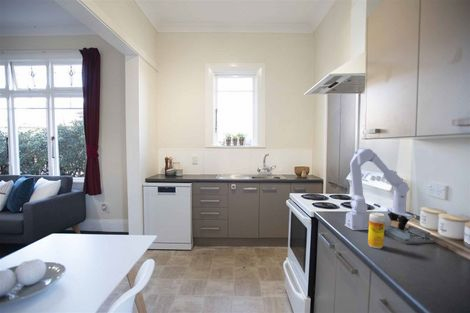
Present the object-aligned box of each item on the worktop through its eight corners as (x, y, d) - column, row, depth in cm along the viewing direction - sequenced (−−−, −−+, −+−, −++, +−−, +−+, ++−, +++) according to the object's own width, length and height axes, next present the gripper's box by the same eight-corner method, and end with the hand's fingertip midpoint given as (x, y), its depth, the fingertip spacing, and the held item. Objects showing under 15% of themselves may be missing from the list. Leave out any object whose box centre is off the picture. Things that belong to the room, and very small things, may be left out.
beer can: (375, 249, 107) (377, 216, 106) (364, 244, 113) (366, 212, 112) (386, 248, 109) (388, 215, 108) (375, 242, 115) (377, 211, 114)
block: (397, 232, 129) (398, 223, 129) (390, 229, 133) (391, 220, 133) (404, 232, 130) (405, 222, 129) (397, 229, 134) (398, 220, 134)
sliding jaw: (404, 240, 115) (405, 233, 115) (388, 232, 125) (388, 226, 125) (409, 239, 115) (410, 233, 115) (392, 231, 125) (393, 226, 125)
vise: (405, 244, 114) (406, 234, 114) (385, 234, 126) (386, 226, 125) (434, 242, 117) (435, 233, 116) (412, 233, 128) (412, 224, 128)
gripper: (418, 206, 124) (416, 232, 125) (394, 200, 138) (393, 223, 139) (406, 207, 123) (404, 233, 124) (383, 200, 137) (382, 223, 138)
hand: (397, 228), depth 131 cm, fingers closed on block, 4 cm apart
